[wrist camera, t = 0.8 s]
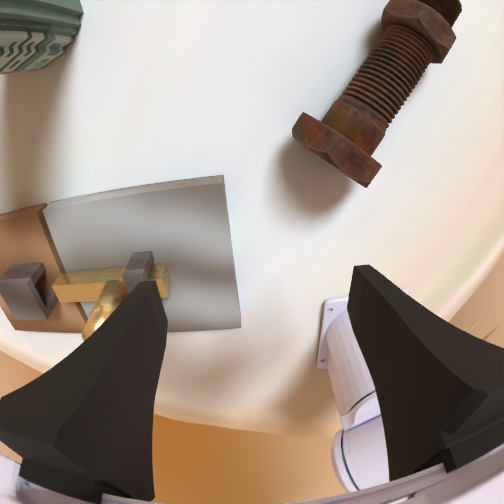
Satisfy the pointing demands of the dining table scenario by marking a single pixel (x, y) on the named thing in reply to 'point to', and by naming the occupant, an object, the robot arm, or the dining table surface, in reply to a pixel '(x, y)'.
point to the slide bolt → (103, 291)
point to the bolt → (381, 86)
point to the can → (35, 32)
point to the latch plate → (123, 253)
